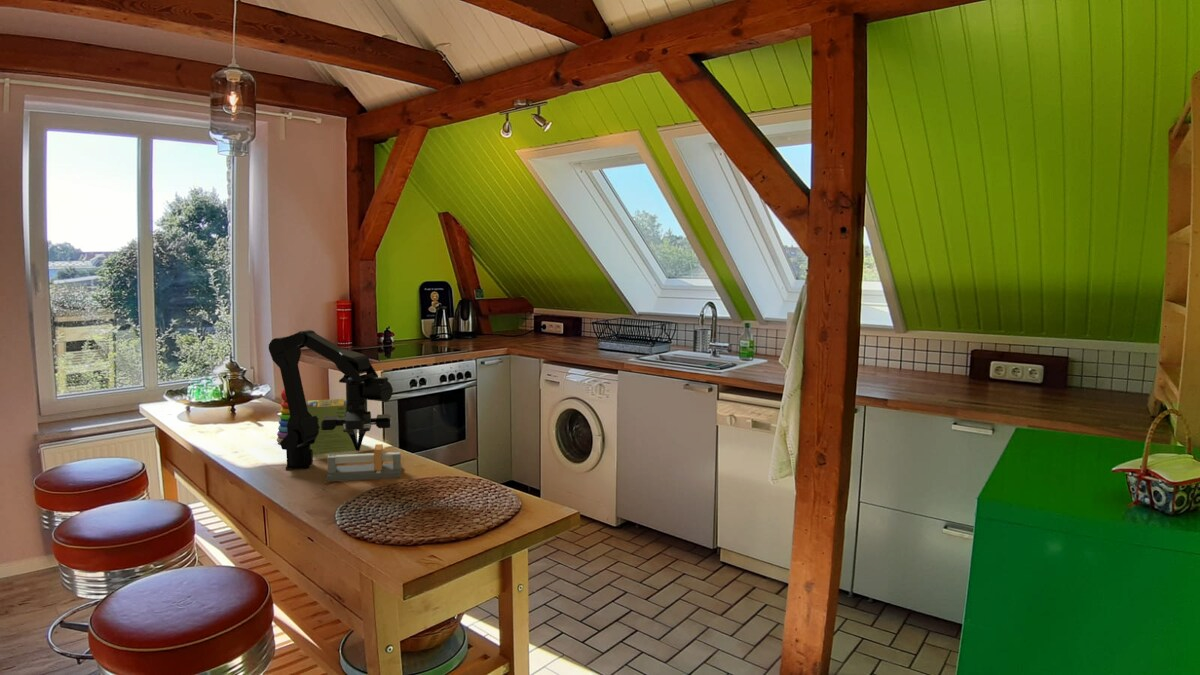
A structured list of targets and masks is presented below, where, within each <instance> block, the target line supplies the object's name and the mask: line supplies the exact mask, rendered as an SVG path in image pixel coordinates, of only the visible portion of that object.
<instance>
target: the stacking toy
mask: <svg viewBox="0 0 1200 675" xmlns="http://www.w3.org/2000/svg"><path fill="white" fill-rule="evenodd" d="M280 395H281V396H280V397H281V399H282V402H281V403H280V405H281V408H280V414H279V418H280V420H279V421H278V424H279V425H278V427H277V429H278V431H277V433H276V435H277V437H276V441H277V443H278V444H280V442H281V441H282V440H283V439H284V438H285V437H286V435H287V434H288V433H287V424H288V421H289V418H290V412H289V407H288V403H287V398H286V394H285V389H284V388H283V389H282V391H281V393H280Z"/></svg>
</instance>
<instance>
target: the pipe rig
mask: <svg viewBox="0 0 1200 675" xmlns="http://www.w3.org/2000/svg"><path fill="white" fill-rule="evenodd" d="M401 454H402V452H401V451H400V450H399V451H391V452H389V451H388V452H383V453H382V461H383V462H389V463H383V466H382V470H375V471H374V452H371V453H370V452H369V453H348V454H328V455H327V459H326V460H327V474H326V482H341V481H342V482H343V481H358V480H359V481H360V480H376V479H377V480H380V479H381V480H382V479H395V478H396V479H397V478H401V474H402V473H401V472H402V461H401V460H402V459H401V458H402V455H401ZM391 462H392V463H391ZM357 463H369V464H357ZM370 463H373V464H370ZM338 464H350V465H338ZM351 464H353V465H351Z"/></svg>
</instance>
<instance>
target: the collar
mask: <svg viewBox="0 0 1200 675" xmlns="http://www.w3.org/2000/svg"><path fill="white" fill-rule="evenodd" d="M373 453H374V462H373V464H374V471H375V470H382V466H383V464H384V461H382V453H384V444H382V443H381V444H380V443H379V444H378V443H377V444H375V445H374V449H373Z"/></svg>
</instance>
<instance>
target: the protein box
mask: <svg viewBox="0 0 1200 675" xmlns="http://www.w3.org/2000/svg"><path fill="white" fill-rule="evenodd" d="M306 405H307V409H308V412H309V413H310V414H311V415H312V416H317V418H318V425H319V427H320V428H319V434H318V435H317V437H316V439H315V443H314V444H310V447H311V449H312V450H313V455H314V454H328V453H341V452H344V451H345V452H354V451H355V452H357V451H356V449H355V447H354V444H353V442H352V439H351V437H350V436H349V434H348V433H347V432H343V429H344V427H343V426H336V427H335V428H334V429H333V430H321V423H322V420H323V419H324V418H325V417H326V416H338V418H339V419H345V413H346V398H332V399H330V398H329V399H316V400H315V399H313V400H307V401H306ZM356 431H357V432H358V429H356Z"/></svg>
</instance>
